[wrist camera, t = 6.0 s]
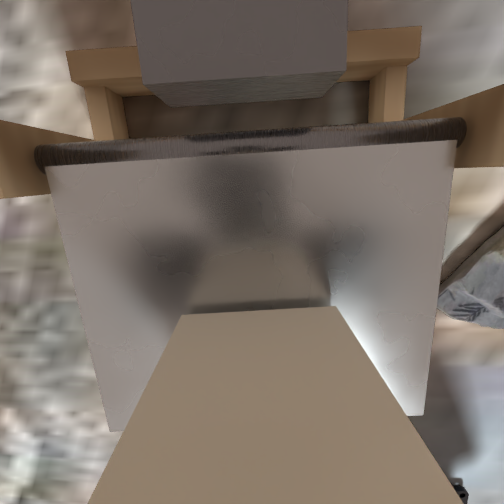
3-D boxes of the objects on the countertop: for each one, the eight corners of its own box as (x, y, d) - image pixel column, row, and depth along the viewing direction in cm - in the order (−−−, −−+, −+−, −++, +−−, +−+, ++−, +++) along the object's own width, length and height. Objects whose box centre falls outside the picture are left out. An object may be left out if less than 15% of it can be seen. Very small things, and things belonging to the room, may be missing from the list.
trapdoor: (405, 383, 12) (443, 434, 10) (123, 399, 12) (92, 452, 10) (445, -23, 8) (523, -100, 6) (36, 7, 9) (-48, -57, 6)
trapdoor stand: (374, 312, 19) (495, 450, 10) (145, 326, 20) (44, 473, 10) (389, 53, 15) (625, -151, 6) (99, 73, 15) (-149, -91, 6)
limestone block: (333, 429, 10) (485, 899, 4) (198, 436, 10) (103, 909, 4) (335, 305, 9) (577, 680, 2) (181, 314, 9) (-13, 703, 2)
